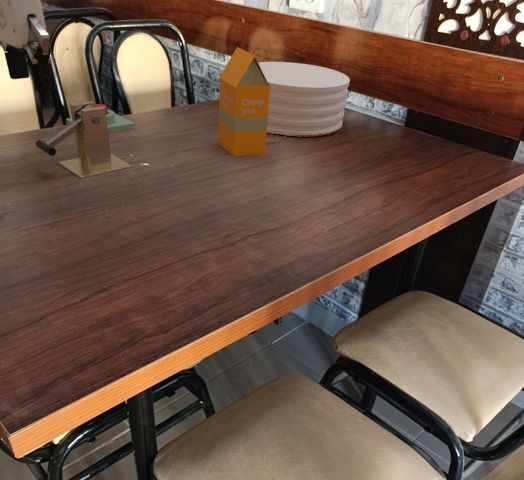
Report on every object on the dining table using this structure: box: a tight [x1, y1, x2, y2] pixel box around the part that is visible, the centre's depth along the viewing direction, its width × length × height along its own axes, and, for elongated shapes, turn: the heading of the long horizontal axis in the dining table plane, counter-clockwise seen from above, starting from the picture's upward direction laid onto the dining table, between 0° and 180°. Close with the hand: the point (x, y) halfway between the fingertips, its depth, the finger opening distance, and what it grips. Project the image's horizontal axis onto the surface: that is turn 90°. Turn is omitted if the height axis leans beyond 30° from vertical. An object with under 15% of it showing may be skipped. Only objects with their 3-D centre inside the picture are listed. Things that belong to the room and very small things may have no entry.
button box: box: [65, 108, 136, 134], centre depth 117 cm, size 12×10×4 cm
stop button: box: [94, 103, 108, 115], centre depth 115 cm, size 4×4×2 cm
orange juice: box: [218, 46, 270, 157], centre depth 108 cm, size 8×9×20 cm
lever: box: [35, 105, 94, 157], centre depth 92 cm, size 12×5×2 cm, turn 133°
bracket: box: [57, 100, 133, 179], centre depth 96 cm, size 11×9×12 cm
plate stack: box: [257, 61, 351, 135], centre depth 132 cm, size 28×28×12 cm
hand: (32, 84), depth 85 cm, fingers open, 9 cm apart
